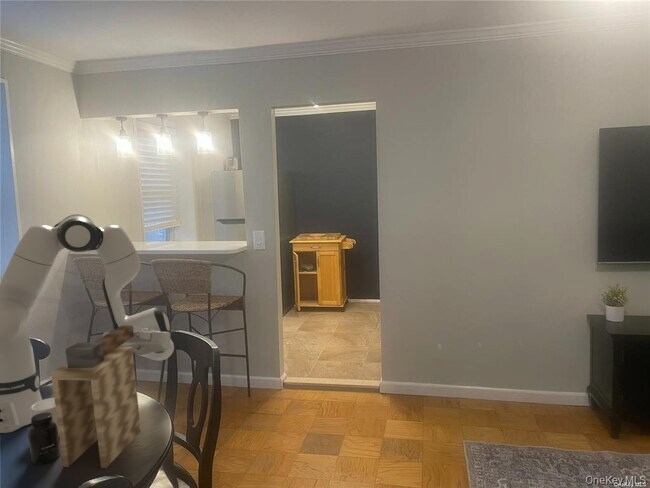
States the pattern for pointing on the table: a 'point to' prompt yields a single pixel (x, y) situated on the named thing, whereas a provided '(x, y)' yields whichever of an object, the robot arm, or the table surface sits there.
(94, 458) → the table surface
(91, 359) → the mallet
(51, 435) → the supplement bottle
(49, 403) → the white cup
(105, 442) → the stand
